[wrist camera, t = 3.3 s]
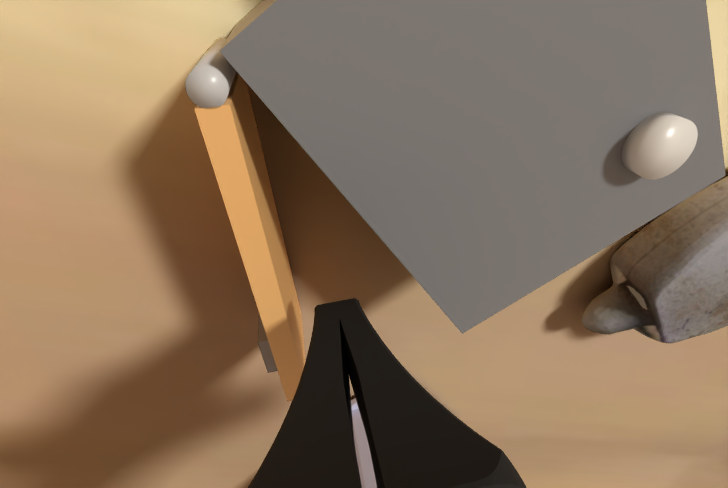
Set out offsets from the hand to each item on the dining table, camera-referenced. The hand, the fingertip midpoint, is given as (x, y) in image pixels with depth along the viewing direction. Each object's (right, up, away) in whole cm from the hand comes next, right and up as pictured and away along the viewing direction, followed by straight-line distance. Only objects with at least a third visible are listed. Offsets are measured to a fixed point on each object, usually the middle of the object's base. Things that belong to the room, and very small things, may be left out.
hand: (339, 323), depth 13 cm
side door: (-3, +4, +3) cm, 6 cm away
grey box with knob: (+4, +9, +2) cm, 10 cm away
